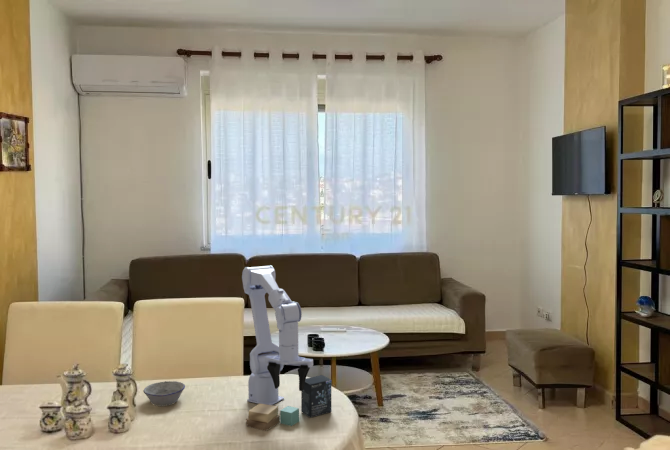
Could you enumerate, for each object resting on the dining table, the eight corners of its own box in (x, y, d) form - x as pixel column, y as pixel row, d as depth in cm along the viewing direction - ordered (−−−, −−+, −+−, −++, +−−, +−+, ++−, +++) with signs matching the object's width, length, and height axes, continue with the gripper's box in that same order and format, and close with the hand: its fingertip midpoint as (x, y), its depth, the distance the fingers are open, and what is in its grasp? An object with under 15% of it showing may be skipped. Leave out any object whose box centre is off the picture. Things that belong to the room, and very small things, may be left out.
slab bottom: (246, 427, 169) (246, 419, 169) (261, 418, 175) (261, 410, 175) (265, 432, 165) (265, 424, 165) (279, 423, 171) (279, 415, 171)
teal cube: (280, 423, 171) (280, 410, 170) (288, 418, 174) (288, 405, 174) (291, 426, 168) (291, 413, 168) (299, 421, 172) (299, 408, 172)
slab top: (248, 419, 168) (248, 411, 168) (259, 411, 174) (259, 403, 174) (267, 422, 166) (267, 414, 166) (278, 414, 172) (278, 406, 172)
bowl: (177, 409, 181) (176, 394, 181) (137, 408, 182) (137, 393, 182) (190, 394, 194) (190, 380, 194) (153, 393, 195) (153, 379, 195)
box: (310, 418, 174) (310, 384, 173) (301, 412, 178) (300, 379, 178) (332, 412, 178) (331, 379, 177) (322, 406, 183) (322, 374, 182)
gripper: (260, 345, 168) (261, 391, 169) (307, 349, 164) (308, 395, 166) (269, 339, 175) (270, 382, 176) (315, 342, 171) (315, 387, 172)
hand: (289, 388), depth 171 cm, fingers open, 7 cm apart
